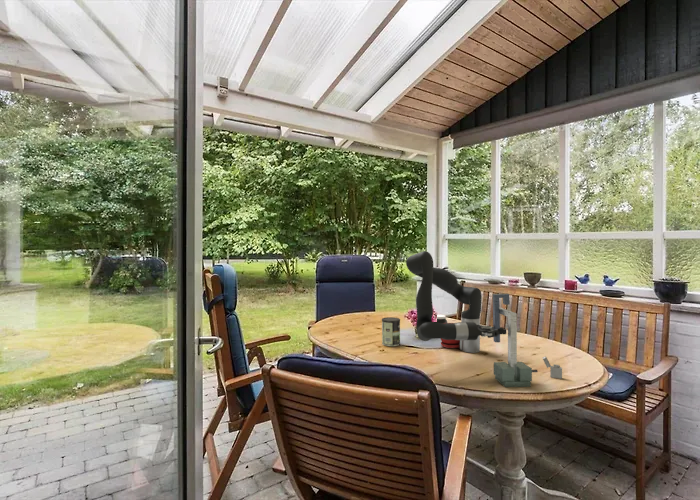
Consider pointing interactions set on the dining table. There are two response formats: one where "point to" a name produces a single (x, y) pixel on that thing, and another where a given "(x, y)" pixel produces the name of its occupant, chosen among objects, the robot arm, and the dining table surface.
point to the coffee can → (390, 331)
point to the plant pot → (450, 343)
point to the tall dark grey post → (498, 311)
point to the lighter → (553, 369)
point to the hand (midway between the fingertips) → (504, 330)
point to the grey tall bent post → (512, 359)
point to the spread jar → (441, 319)
